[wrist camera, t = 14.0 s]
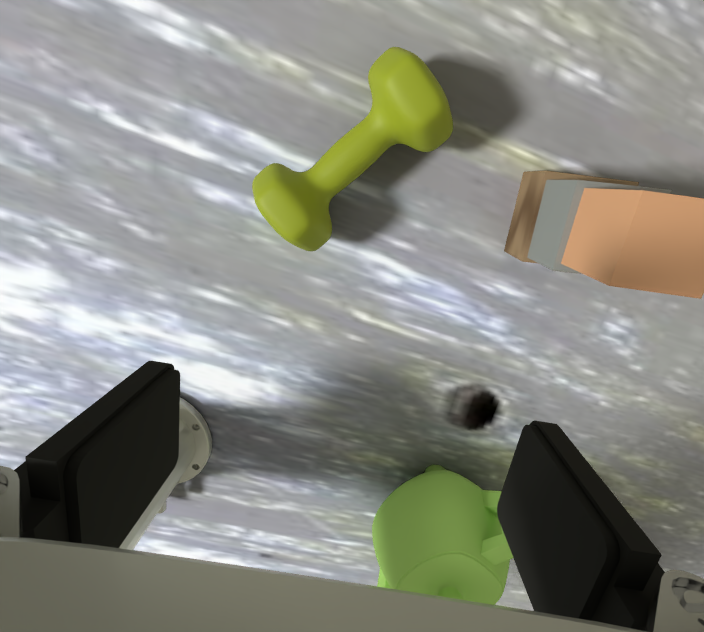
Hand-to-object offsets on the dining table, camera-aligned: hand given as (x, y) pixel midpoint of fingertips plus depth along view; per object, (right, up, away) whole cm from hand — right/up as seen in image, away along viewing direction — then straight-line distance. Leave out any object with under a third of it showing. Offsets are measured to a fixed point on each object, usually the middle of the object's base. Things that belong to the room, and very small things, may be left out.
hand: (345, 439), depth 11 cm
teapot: (+10, -19, +37) cm, 42 cm away
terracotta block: (+17, +9, +16) cm, 25 cm away
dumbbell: (0, +17, +25) cm, 30 cm away
